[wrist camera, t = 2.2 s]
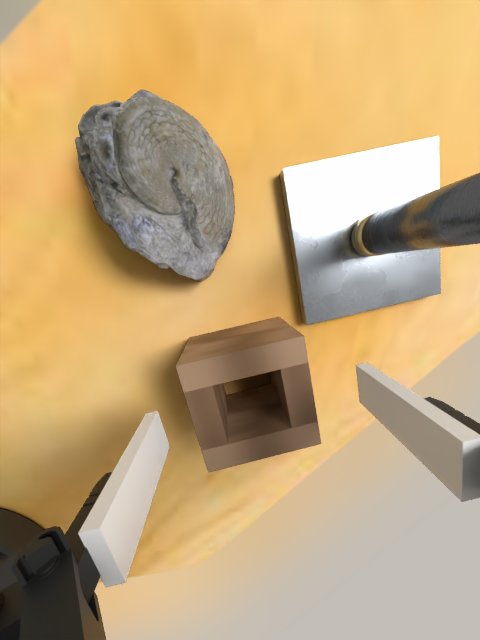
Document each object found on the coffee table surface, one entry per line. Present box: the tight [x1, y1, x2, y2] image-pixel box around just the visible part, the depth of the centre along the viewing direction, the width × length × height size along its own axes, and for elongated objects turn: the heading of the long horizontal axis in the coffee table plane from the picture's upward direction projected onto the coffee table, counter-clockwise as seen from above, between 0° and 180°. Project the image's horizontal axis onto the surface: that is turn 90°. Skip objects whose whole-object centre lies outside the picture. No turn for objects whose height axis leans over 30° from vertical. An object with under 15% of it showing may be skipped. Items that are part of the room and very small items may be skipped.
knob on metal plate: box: [279, 136, 480, 325], centre depth 13 cm, size 12×12×11 cm
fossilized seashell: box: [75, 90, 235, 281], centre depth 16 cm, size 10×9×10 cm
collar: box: [176, 317, 321, 472], centre depth 17 cm, size 8×8×6 cm
